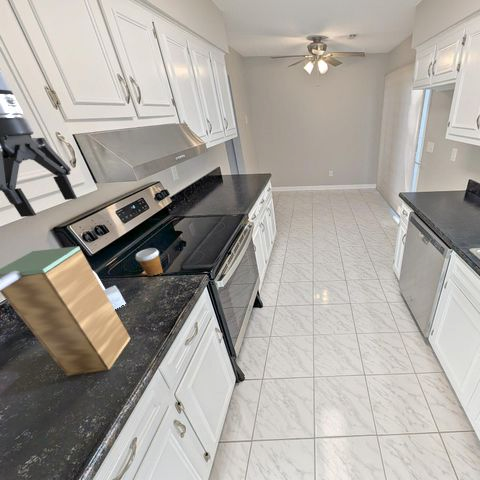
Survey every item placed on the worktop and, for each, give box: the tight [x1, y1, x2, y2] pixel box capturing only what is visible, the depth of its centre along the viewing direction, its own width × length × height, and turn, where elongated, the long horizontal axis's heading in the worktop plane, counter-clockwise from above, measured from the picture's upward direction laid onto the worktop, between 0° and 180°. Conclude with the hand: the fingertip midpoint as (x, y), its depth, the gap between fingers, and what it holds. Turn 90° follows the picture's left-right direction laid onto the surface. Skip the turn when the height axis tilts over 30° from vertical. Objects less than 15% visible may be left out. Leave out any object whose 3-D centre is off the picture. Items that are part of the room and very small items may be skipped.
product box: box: [104, 285, 127, 311], centre depth 102 cm, size 6×6×7 cm
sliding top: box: [0, 245, 81, 290], centre depth 61 cm, size 12×22×2 cm, turn 7°
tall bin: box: [0, 249, 131, 377], centre depth 73 cm, size 12×12×35 cm
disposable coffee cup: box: [135, 247, 163, 277], centre depth 121 cm, size 10×10×12 cm
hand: (52, 206), depth 67 cm, fingers open, 13 cm apart
